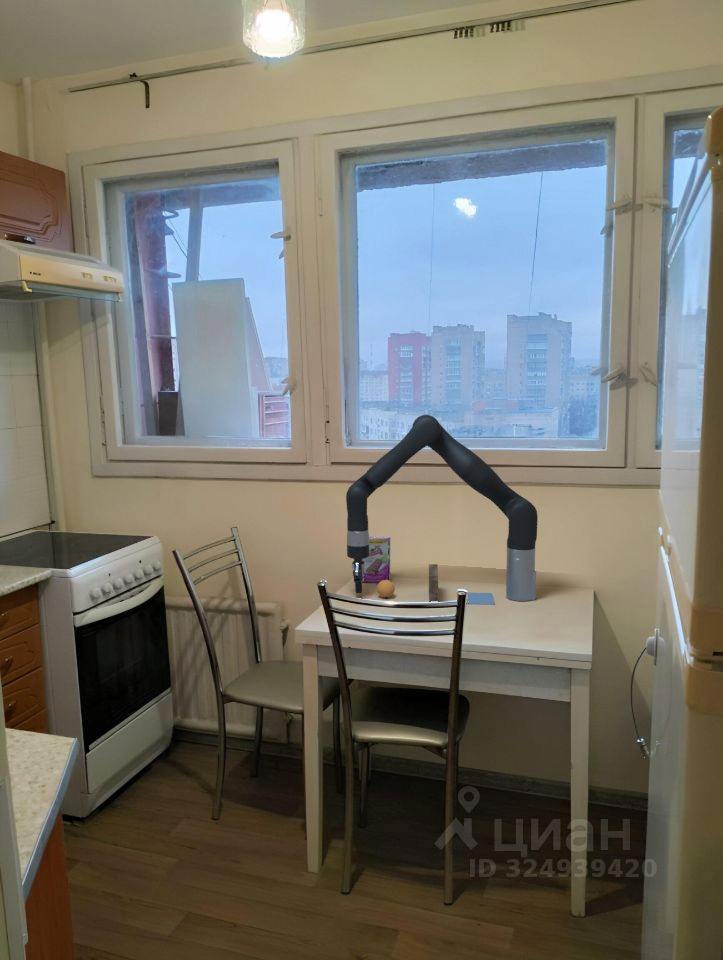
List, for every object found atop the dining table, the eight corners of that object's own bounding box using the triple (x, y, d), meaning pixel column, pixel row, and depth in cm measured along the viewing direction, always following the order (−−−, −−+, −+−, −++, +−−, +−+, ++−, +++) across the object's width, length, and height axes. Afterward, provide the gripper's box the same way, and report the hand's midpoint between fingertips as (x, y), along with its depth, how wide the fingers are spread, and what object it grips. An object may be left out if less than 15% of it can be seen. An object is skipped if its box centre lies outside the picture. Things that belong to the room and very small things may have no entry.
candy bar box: (359, 583, 256) (358, 539, 254) (360, 579, 261) (360, 536, 259) (390, 583, 255) (389, 539, 253) (390, 579, 260) (390, 536, 258)
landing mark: (491, 593, 242) (491, 592, 242) (495, 604, 230) (495, 603, 230) (456, 593, 243) (456, 592, 243) (458, 603, 231) (458, 603, 231)
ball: (395, 594, 242) (395, 577, 241) (394, 600, 236) (394, 582, 235) (377, 594, 242) (377, 577, 241) (376, 600, 236) (376, 582, 235)
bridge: (437, 591, 245) (437, 564, 243) (438, 605, 230) (438, 576, 229) (428, 591, 245) (428, 564, 244) (429, 604, 230) (429, 576, 229)
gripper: (367, 547, 230) (368, 598, 233) (370, 538, 243) (371, 587, 246) (344, 547, 231) (345, 598, 233) (349, 538, 244) (349, 587, 246)
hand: (358, 592), depth 240 cm, fingers closed
